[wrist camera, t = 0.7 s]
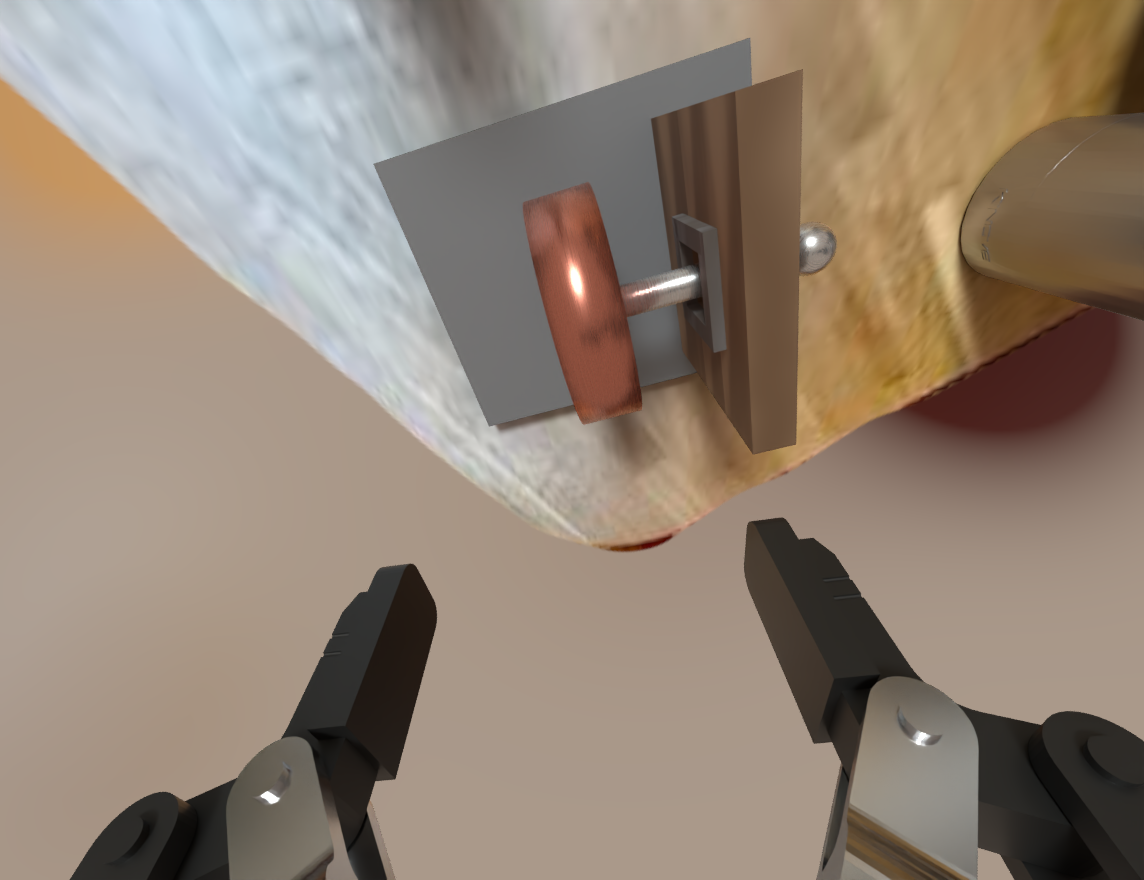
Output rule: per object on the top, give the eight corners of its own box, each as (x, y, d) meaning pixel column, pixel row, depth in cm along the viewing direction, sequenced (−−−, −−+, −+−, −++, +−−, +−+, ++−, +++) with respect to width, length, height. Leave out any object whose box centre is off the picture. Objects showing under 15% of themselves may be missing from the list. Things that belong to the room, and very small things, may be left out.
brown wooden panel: (687, 107, 24) (802, 69, 13) (710, 343, 31) (796, 444, 21) (640, 122, 24) (715, 97, 13) (674, 353, 32) (740, 457, 21)
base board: (739, 43, 24) (750, 37, 23) (752, 348, 33) (760, 356, 32) (381, 163, 26) (373, 164, 25) (491, 416, 36) (489, 426, 34)
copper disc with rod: (781, 112, 23) (942, 85, 13) (782, 316, 29) (893, 394, 19) (527, 192, 24) (515, 217, 15) (578, 370, 30) (591, 467, 21)
